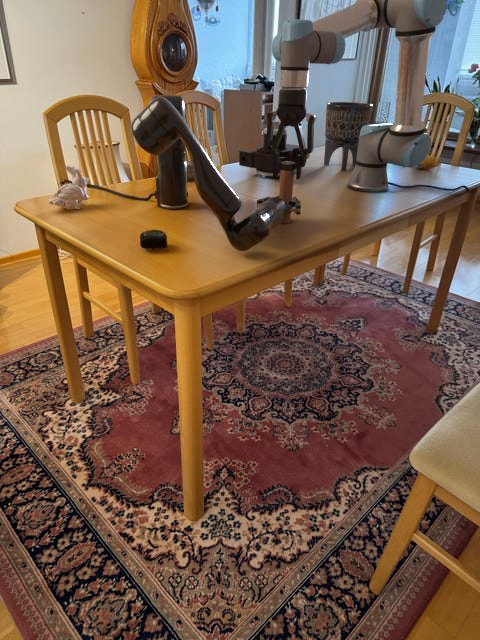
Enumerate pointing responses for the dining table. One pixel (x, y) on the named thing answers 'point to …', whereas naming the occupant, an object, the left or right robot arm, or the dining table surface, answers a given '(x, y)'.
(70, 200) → the figurine
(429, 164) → the toy
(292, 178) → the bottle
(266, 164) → the mechanical component
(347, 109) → the planter
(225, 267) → the dining table surface
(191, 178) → the rock
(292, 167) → the lid
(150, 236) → the tape measure
